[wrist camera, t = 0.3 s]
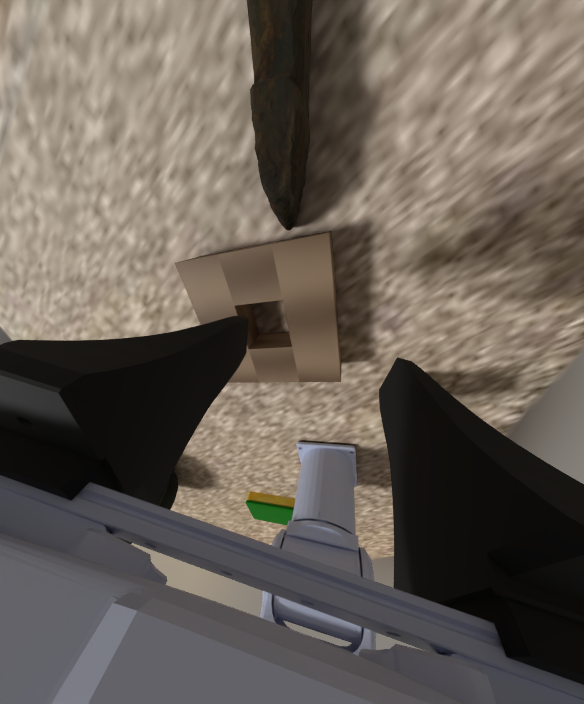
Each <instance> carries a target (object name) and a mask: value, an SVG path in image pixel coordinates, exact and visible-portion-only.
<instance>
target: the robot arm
mask: <svg viewBox="0 0 584 704" xmlns="http://www.w3.org/2000/svg"><path fill="white" fill-rule="evenodd" d="M248 324H249V318H245V317H241V316H231V317H227V318H224V319H220V320H217V321H213V322H210V323H207V324H203V325H199V326H195V327H191V328H187V329H183V330H179V331H174V332H169V333H163V334H157V335H151V336H142V337H132V338H123V339H108V340H83V341H51V340H16V341H11V342H7V343H4V344H2V345H0V704H584V484H582V483H580V482H579V481H577V480H575V479H573V478H571V477H570V476H568V475H566V474H565V473H563V472H561V471H559V470H558V469H556V468H555V467H553V466H551V465H550V464H548V463H546V462H544V461H543V460H541V459H540V458H538V457H536V456H535V455H533V454H532V453H530V452H529V451H527V450H526V449H524V448H522V447H521V446H519V445H517V444H516V443H514V442H513V441H512V440H510V439H509V438H507V437H506V436H504V435H503V434H501V433H500V432H498V431H497V430H496V429H494V428H493V427H491V426H490V425H489V424H487V423H486V422H484V421H483V420H482V419H480V418H479V417H478V416H476V415H475V414H474V413H473V412H471V411H470V410H469V409H468V408H466V407H465V406H464V405H463V404H461V403H460V402H459V401H458V400H456V399H455V398H454V397H453V396H452V395H451V394H449V393H448V392H447V391H446V390H445V389H444V388H442V387H441V386H440V385H439V384H438V383H437V382H436V381H434V380H433V379H432V378H431V377H430V376H429V375H428V374H427V373H425V372H424V371H423V370H422V369H421V368H419V367H418V366H417V365H416V364H414V363H413V362H411V361H408V360H404V359H401V358H397V359H396V361H395V363H394V365H393V366H392V368H391V370H390V372H389V373H388V375H387V377H386V379H385V380H384V382H383V384H382V386H381V388H380V389H379V402H380V412H381V418H382V423H383V428H384V433H385V438H386V443H387V448H388V453H389V460H390V469H391V481H392V496H393V515H394V588H392V587H389V586H386V585H383V584H381V583H378V582H375V581H374V574H373V567H372V562H371V558H370V557H369V555H368V554H367V552H366V550H365V548H362V547H359V546H358V536H357V535H356V531H355V503H354V487H356V486H357V473H356V452H355V447H354V446H352V445H339V444H325V443H311V442H297V445H296V446H297V450H298V453H299V457H300V461H301V470H300V476H299V482H298V487H297V493H296V499H295V505H294V510H293V516H292V521H288V525H287V530H284V529H282V530H281V531H280V532H279V533H278V534H277V535H276V536H275V538H274V540H273V543H272V545H269V544H266V543H263V542H260V541H257V540H255V539H252V538H249V537H246V536H243V535H240V534H237V533H234V532H232V531H229V530H226V529H223V528H220V527H217V526H214V525H212V524H209V523H206V522H203V521H200V520H197V519H194V518H191V517H189V516H186V515H183V514H180V513H177V512H174V511H171V510H169V509H166V508H163V507H160V506H157V505H156V504H157V501H158V499H159V497H160V495H161V493H162V491H163V489H164V487H165V485H166V483H167V481H168V479H169V477H170V476H171V474H172V472H173V470H174V468H175V466H176V464H177V462H178V460H179V458H180V457H181V455H182V453H183V451H184V449H185V447H186V445H187V444H188V442H189V440H190V438H191V437H192V435H193V433H194V431H195V430H196V428H197V426H198V425H199V423H200V421H201V420H202V418H203V416H204V415H205V413H206V411H207V410H208V408H209V407H210V405H211V404H212V402H213V401H214V399H215V398H216V397H217V396H218V394H219V393H220V392H221V390H222V389H223V388H224V386H225V385H226V384H227V382H228V381H229V380H230V379H231V377H232V376H233V375H234V373H235V372H236V370H237V369H238V368H239V366H240V364H241V362H242V360H243V359H244V357H245V355H246V352H247V338H248ZM117 537H118V538H117ZM119 538H121V539H124V540H126V541H129V542H132V543H134V544H137V545H140V546H143V547H146V548H148V549H151V550H154V551H157V552H159V553H162V554H165V555H167V556H170V557H173V558H175V559H178V560H181V561H183V562H186V563H189V564H192V565H194V566H197V567H200V568H202V569H205V570H208V571H211V572H213V573H216V574H219V575H222V576H224V577H227V578H230V579H232V580H235V581H238V582H241V583H243V584H246V585H249V586H251V587H254V588H257V589H260V590H262V591H263V602H262V609H261V615H260V617H257V616H254V615H251V614H249V613H246V612H243V611H240V610H238V609H235V608H232V607H229V606H226V605H223V604H221V603H218V602H215V601H212V600H209V599H206V598H203V597H200V596H197V595H194V594H191V593H188V592H185V591H182V590H179V589H176V588H173V587H170V586H167V585H165V584H166V582H167V577H166V576H165V575H164V574H163V573H161V572H160V571H159V570H158V569H156V567H155V566H154V565H153V564H152V562H151V559H150V554H148V553H146V552H144V551H142V550H140V549H138V548H136V547H134V546H133V545H131V544H129V543H127V542H125V541H123V540H121V539H119ZM283 620H285V621H288V622H291V623H294V624H297V625H300V626H303V627H306V628H309V629H312V630H315V631H318V632H321V633H324V634H327V635H330V636H333V637H336V638H340V639H342V640H345V641H348V642H351V643H352V644H351V645H349V646H347V647H346V646H338V645H335V644H332V643H329V642H326V641H323V640H320V639H317V638H314V637H311V636H308V635H305V634H302V633H300V632H297V631H294V630H292V629H290V628H289V627H287V626H286V624H285V623H284V621H283ZM376 632H377V633H379V634H382V635H385V636H387V637H391V638H393V639H396V640H399V641H401V642H404V643H406V644H409V645H412V646H415V647H417V648H420V649H423V650H425V651H423V650H419V649H415V648H411V647H407V646H403V645H398V644H395V645H394V646H393V647H392V648H390V649H384V650H376V640H375V639H376Z"/></svg>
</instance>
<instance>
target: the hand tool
mask: <svg viewBox="0 0 584 704" xmlns="http://www.w3.org/2000/svg"><path fill="white" fill-rule="evenodd" d="M247 6H248V16H249V26H250V36H251V47H252V59H253V70H254V84H253V85H252V87H251V89H250V93H251V109H252V122H253V127H254V130H255V142H256V143H255V151H256V155H257V159H258V167H259V173H260V178H261V183H262V186H263V189H264V191H265V193H266V195H267V197H268V200H269V202H270V206H271V208H272V210H273V212H274V213H275V215H276V216H277V218H278V220H279V221H280V223H281V224H282V226H283V227H284V228H285V229H286V230H291V229H292V228H293V227H294V225H295V223H296V220H297V216H298V213H299V209H300V202H301V199H302V196H303V187H304V184H305V172H306V161H307V157H308V148H309V141H310V131H309V124H308V118H309V108H308V99H309V72H310V50H311V14H312V0H247Z"/></svg>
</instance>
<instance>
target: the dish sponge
mask: <svg viewBox="0 0 584 704" xmlns="http://www.w3.org/2000/svg"><path fill="white" fill-rule="evenodd" d="M246 504H247V506H248V508H249V510H250V512H251V514H252V516H253V518H254V519H258V520H263V521H268V522H273V523H278V524H284V525H288V521H292V516H293V510H294V505H295V499H294V498H287V497H281V496H275V495H269V494H263V493H256V492H249V494H248V497H247V501H246Z"/></svg>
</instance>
